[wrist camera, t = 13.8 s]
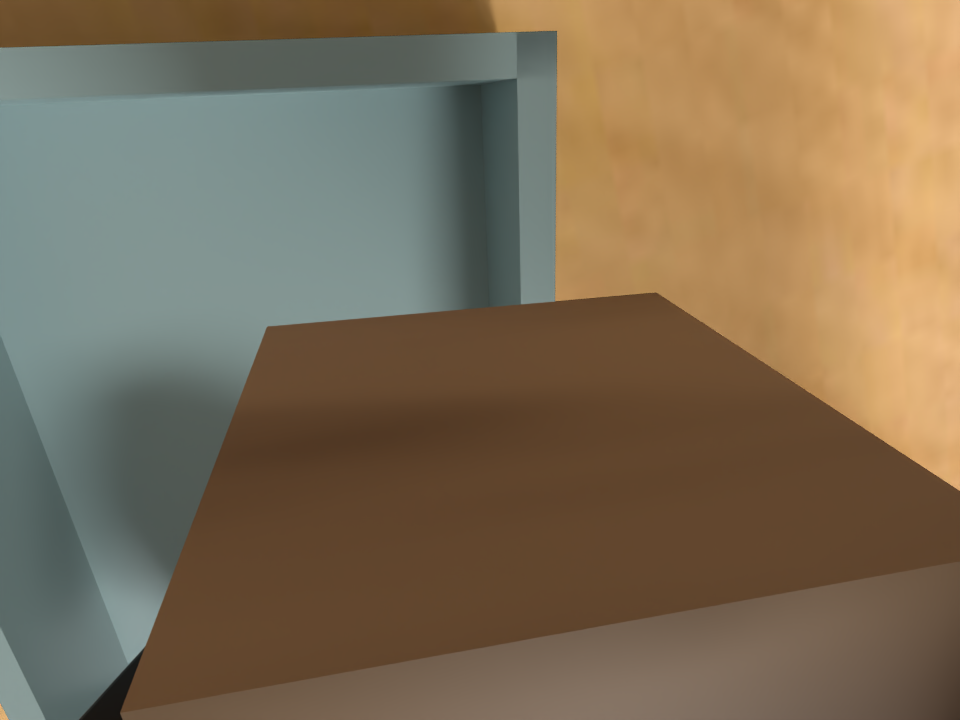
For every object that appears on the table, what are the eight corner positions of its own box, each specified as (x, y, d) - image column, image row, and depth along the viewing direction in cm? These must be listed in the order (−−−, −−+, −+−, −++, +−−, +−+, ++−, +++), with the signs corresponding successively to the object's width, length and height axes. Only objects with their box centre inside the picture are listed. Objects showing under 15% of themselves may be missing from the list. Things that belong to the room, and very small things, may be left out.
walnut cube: (627, 578, 10) (849, 969, 6) (322, 629, 9) (291, 1137, 5) (656, 292, 8) (1043, 546, 3) (266, 326, 7) (120, 714, 3)
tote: (517, 673, 25) (551, 796, 21) (153, 743, 23) (102, 897, 19) (501, 51, 16) (556, 31, 12) (-111, 73, 14) (-341, 58, 9)
